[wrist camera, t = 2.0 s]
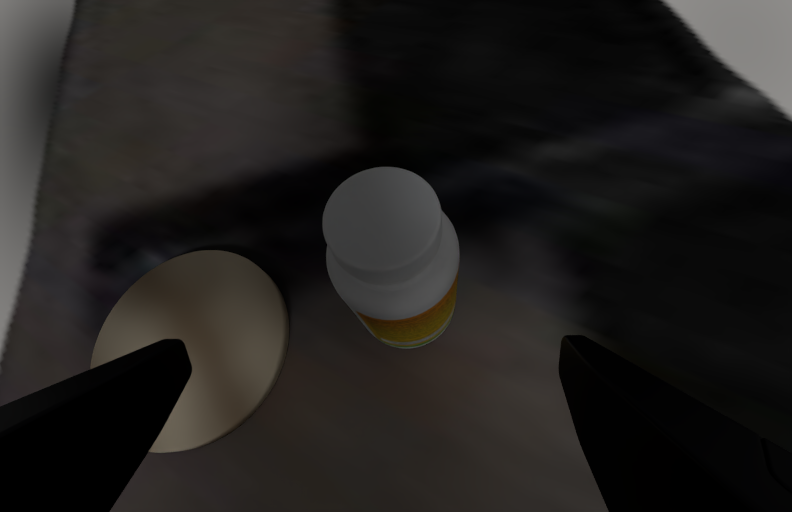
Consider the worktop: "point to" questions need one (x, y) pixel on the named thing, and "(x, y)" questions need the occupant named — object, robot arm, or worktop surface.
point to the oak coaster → (205, 339)
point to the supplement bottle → (392, 255)
